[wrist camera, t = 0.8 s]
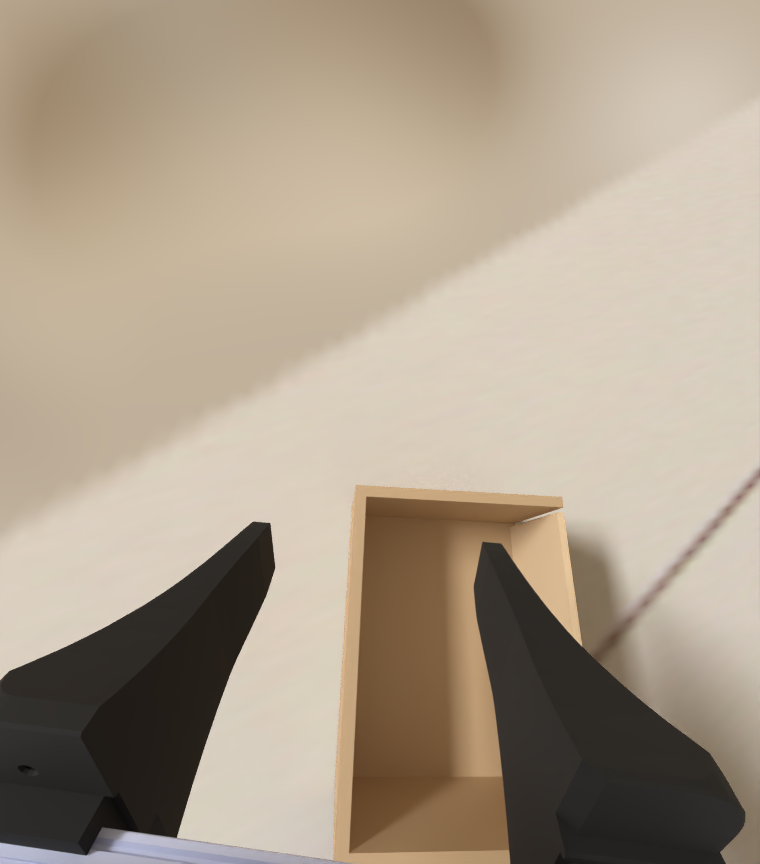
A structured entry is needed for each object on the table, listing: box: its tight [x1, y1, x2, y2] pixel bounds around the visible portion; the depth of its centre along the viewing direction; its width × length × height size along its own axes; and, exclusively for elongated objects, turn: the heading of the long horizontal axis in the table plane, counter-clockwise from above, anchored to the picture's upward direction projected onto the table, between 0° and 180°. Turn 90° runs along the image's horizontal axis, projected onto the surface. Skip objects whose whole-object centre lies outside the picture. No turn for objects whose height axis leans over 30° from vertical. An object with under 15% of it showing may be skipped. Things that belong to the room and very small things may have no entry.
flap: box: [510, 512, 582, 646], centre depth 22 cm, size 14×1×6 cm, turn 178°
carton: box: [333, 485, 563, 864], centre depth 22 cm, size 16×12×7 cm
